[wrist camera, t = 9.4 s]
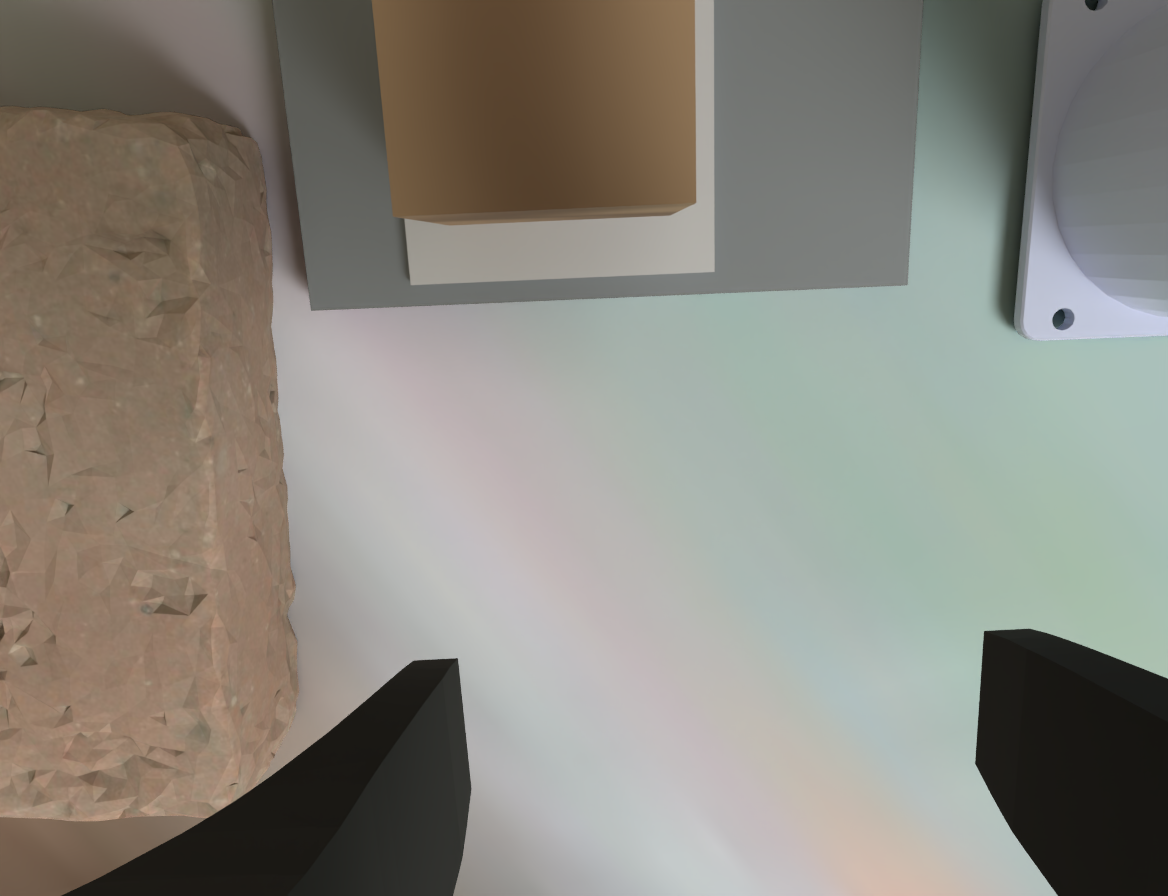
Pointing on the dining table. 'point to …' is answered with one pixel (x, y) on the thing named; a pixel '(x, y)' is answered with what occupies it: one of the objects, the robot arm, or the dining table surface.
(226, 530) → the brick
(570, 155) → the walnut block
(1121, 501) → the dining table surface
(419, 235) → the pad
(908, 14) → the board
